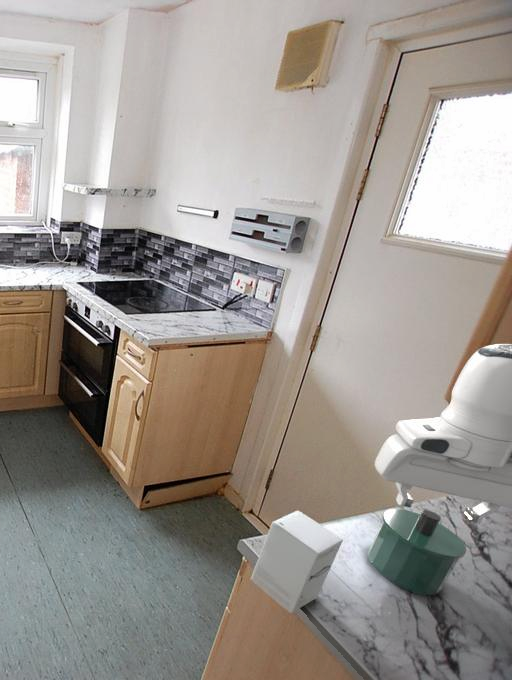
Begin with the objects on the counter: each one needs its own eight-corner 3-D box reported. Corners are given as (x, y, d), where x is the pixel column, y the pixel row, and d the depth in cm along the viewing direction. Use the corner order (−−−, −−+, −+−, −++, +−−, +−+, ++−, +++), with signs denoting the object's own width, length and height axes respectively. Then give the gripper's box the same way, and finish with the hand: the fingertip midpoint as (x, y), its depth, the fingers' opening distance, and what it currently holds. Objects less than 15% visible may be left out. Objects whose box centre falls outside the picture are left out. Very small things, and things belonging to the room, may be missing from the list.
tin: (422, 559, 85) (442, 523, 82) (452, 604, 76) (475, 565, 73) (359, 541, 88) (375, 506, 85) (380, 582, 79) (399, 544, 76)
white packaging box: (291, 616, 71) (318, 554, 67) (248, 579, 77) (270, 520, 73) (318, 599, 75) (345, 539, 70) (275, 565, 81) (297, 508, 76)
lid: (442, 525, 83) (453, 504, 81) (478, 570, 73) (492, 548, 71) (371, 506, 86) (380, 486, 84) (396, 548, 76) (408, 526, 74)
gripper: (540, 447, 72) (501, 517, 77) (386, 418, 78) (359, 485, 83) (571, 469, 67) (527, 543, 71) (403, 436, 73) (373, 507, 77)
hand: (436, 512), depth 77 cm, fingers open, 8 cm apart
